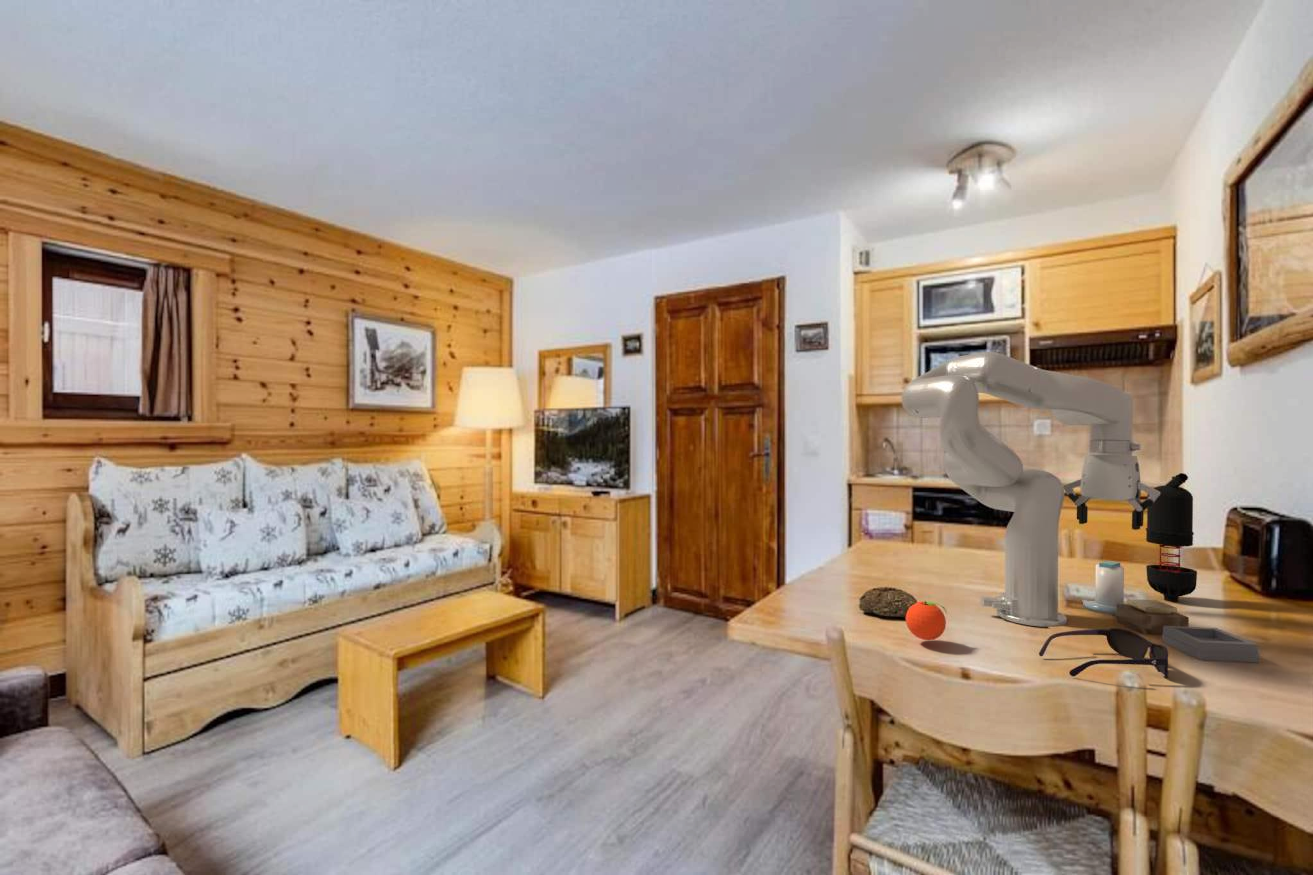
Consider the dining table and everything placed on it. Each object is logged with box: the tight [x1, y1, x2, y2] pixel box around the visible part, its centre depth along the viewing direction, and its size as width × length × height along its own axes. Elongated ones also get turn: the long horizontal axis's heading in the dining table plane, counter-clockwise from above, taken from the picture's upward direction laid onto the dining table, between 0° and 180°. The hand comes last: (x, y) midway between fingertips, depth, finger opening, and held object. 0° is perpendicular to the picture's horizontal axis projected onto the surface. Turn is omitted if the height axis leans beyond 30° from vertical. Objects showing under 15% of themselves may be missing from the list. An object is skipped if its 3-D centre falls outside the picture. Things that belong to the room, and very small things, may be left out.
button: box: [1126, 598, 1178, 615], centre depth 118 cm, size 6×6×3 cm
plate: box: [1082, 599, 1116, 616], centre depth 131 cm, size 10×10×1 cm
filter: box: [1145, 472, 1198, 603], centre depth 139 cm, size 14×9×30 cm
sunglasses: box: [1038, 627, 1169, 679], centre depth 99 cm, size 14×16×5 cm
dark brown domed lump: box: [858, 586, 918, 619], centre depth 132 cm, size 13×12×5 cm
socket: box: [1161, 626, 1260, 663], centre depth 105 cm, size 9×9×3 cm
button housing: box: [1115, 604, 1190, 635], centre depth 118 cm, size 8×8×4 cm
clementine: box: [905, 600, 948, 641], centre depth 112 cm, size 8×7×7 cm
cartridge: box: [1094, 560, 1125, 607], centre depth 131 cm, size 5×5×9 cm
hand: (1108, 526), depth 131 cm, fingers open, 9 cm apart
